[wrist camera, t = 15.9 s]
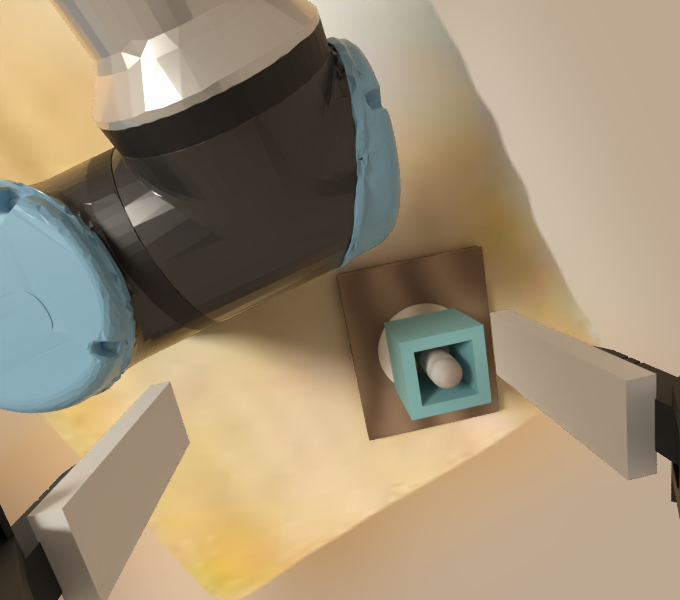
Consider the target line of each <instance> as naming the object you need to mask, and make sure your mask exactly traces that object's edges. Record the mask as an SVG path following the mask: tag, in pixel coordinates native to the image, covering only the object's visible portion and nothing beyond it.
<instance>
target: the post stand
mask: <svg viewBox="0 0 680 600" xmlns="http://www.w3.org/2000/svg"><path fill="white" fill-rule="evenodd" d="M337 280H338V285H339V290H340V295H341V300H342V305H343V311H344V316H345V321H346V326H347V331H348V336H349V341H350V346H351V351H352V356H353V361H354V366H355V371H356V376H357V381H358V386H359V392H360V397H361V402H362V407H363V412H364V417H365V422H366V427H367V432H368V436H369V439H370V440H375V439H379V438H383V437H388V436H392V435H397V434H401V433H405V432H410V431H414V430H419V429H423V428H428V427H432V426H436V425H441V424H445V423H450V422H454V421H458V420H463V419H467V418H472V417H476V416H480V415H485V414H489V413H494V412H498V411H499V403H498V394H497V384H496V375H495V366H494V356H493V347H492V338H491V328H490V319H489V310H488V300H487V291H486V282H485V272H484V263H483V254H482V247H479V246H473V247H468V248H464V249H459V250H454V251H449V252H444V253H439V254H434V255H430V256H425V257H420V258H415V259H410V260H405V261H400V262H396V263H391V264H386V265H381V266H376V267H371V268H366V269H361V270H357V271H352V272H347V273H342V274H337ZM450 308H455V309H457V310H459V311H460V312H462V313H464V314H465V315H467V316H469V317H471V318H472V319H474V320H476V321H477V322H479V323H481V324H482V325H483V328H484V337H485V346H486V355H487V364H488V373H489V382H490V391H491V400H492V403H487V404H483V405H478V406H474V407H470V408H465V409H461V410H456V411H452V412H447V413H443V414H439V415H434V416H430V417H425V418H421V419H416V420H411V418H410V416H409V414H408V412H407V410H406V408H405V406H404V404H403V403H402V401H401V399H400V397H399V395H398V393H397V391H396V389H395V385H394V379H393V374H392V368H391V362H390V356H389V351H388V345H387V339H386V333H385V328H384V322H389V321H394V320H398V319H403V318H408V317H413V316H417V315H422V314H427V313H431V312H436V311H441V310H446V309H450ZM414 357H415V364H416V370H417V374H419V373H423V372H426V373H427V375H428V376H429V377H430V378H431V380H432V381H433V382H434V383H435V384H436V385H437V386H439V387H441V388H445V389H449V388H453V387H455V386H456V385H458V384H459V382H460V381H461V379H462V368H461V366H460V364H459V363H458V362H457V361H456V360H455V359H454V358H453V357H452V356H451V355H450V354H449V347H448V345H446V346H441V347H436V348H432V349H427V350H422V351H418V352H414Z"/></svg>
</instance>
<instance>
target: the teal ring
mask: <svg viewBox="0 0 680 600" xmlns="http://www.w3.org/2000/svg"><path fill="white" fill-rule="evenodd" d="M384 328H385V333H386V339H387V345H388V351H389V356H390V362H391V368H392V374H393V379H394V385H395V389H396V391H397V393H398V395H399V397H400V399H401V401H402V403H403V404H404V406H405V408H406V410H407V412H408V414H409V416H410V418H411V420H416V419H421V418H425V417H430V416H434V415H439V414H443V413H447V412H452V411H456V410H461V409H465V408H470V407H474V406H478V405H483V404H487V403H492V400H491V391H490V382H489V373H488V364H487V355H486V346H485V337H484V328H483V325H482V324H481V323H479V322H477V321H476V320H474V319H472V318H471V317H469V316H467V315H465V314H464V313H462V312H460V311H459V310H457V309H455V308H450V309H446V310H441V311H436V312H431V313H427V314H422V315H417V316H413V317H408V318H403V319H398V320H394V321H389V322H384ZM446 345H448V347H449V354H450V355H451V356H452V357H453V358H454V359H455V360H456V361H457V362H458V363H459V364H460V366H461V368H462V379H461V381H460V382H459V384H458V385H456V386H455V387H453V388H449V389H445V388H441V387H439V386H437V385H436V384H435V383H434V382H433V381H432V380H431V378H430V377H429V376H428V375H427V373H426V372H423V373H419V374H417V370H416V364H415V357H414V352H418V351H422V350H427V349H432V348H436V347H441V346H446Z"/></svg>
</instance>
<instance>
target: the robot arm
mask: <svg viewBox="0 0 680 600" xmlns="http://www.w3.org/2000/svg"><path fill="white" fill-rule="evenodd" d="M50 2H51V3H52V4H53V6H54V7H55V9H56V10H57V11H58V13H59V14H60V16H61V17H62V18H63V20H64V21H65V23H66V24H67V25H68V27H69V28H70V30H71V31H72V32H73V34H74V35H75V36H76V38H77V39H78V41H79V42H80V43H81V45H82V46H83V48H84V49H85V50H86V52H87V53H88V55H89V56H90V57H91V59H92V62H93V66H94V71H95V87H94V103H93V119H94V120H95V122H96V123H97V125H98V127H99V128H100V129H101V130H102V132H103V133H104V134H105V135H106V137H107V138H108V139H109V140H110V142H111V143H112V144H113V145H114V148H112V149H110V150H108V151H106V152H104V153H102V154H100V155H98V156H96V157H93V158H91V159H89V160H87V161H85V162H83V163H81V164H79V165H77V166H75V167H73V168H71V169H68V170H66V171H64V172H62V173H60V174H58V175H56V176H54V177H52V178H50V179H48V180H45V181H43V182H40V183H37V184H33V185H29V186H27V185H25V184H22V183H17V182H13V181H8V180H0V409H4V410H7V411H13V412H21V413H43V412H52V411H57V410H62V409H65V408H68V407H71V406H74V405H77V404H79V403H81V402H83V401H85V400H86V399H88V398H90V397H92V396H94V395H97V394H100V393H102V392H104V391H106V390H107V389H109V388H110V387H111V386H112V385H113V384H114V382H116V381H118V380H119V379H120V378H121V374H123V373H124V372H125V371H126V370H127V369H128V368H130V367H131V366H133V365H135V364H136V363H138V362H140V361H142V360H143V359H145V358H147V357H149V356H151V355H153V354H155V353H157V352H159V351H161V350H163V349H165V348H167V347H169V346H171V345H174V344H176V343H178V342H180V341H182V340H184V339H186V338H188V337H190V336H192V335H194V334H196V333H198V332H200V331H202V330H204V329H206V328H208V327H210V326H212V325H214V324H216V323H219V322H221V321H225V320H227V319H229V318H231V317H233V316H236V315H238V314H240V313H242V312H244V311H246V310H248V309H250V308H252V307H255V306H257V305H259V304H261V303H263V302H265V301H267V300H269V299H271V298H274V297H276V296H278V295H280V294H282V293H284V292H286V291H288V290H290V289H293V288H295V287H297V286H299V285H301V284H303V283H305V282H307V281H309V280H312V279H314V278H316V277H318V276H320V275H322V274H324V273H326V272H328V271H331V270H338V269H340V268H343V266H344V265H347V264H348V263H349V261H350V260H351V259H353V258H354V257H356V256H358V255H360V254H362V253H364V252H366V251H367V250H369V249H371V248H373V247H375V246H377V245H379V244H380V243H381V242H382V241H383V240H384V239H385V238H386V237H387V236H388V235H389V233H390V232H391V231H392V229H393V227H394V225H395V223H396V220H397V216H398V212H399V206H400V192H401V189H400V170H399V161H398V154H397V148H396V142H395V137H394V132H393V128H392V124H391V120H390V116H389V114H388V111H387V110H386V109H384V108H383V107H382V105H381V97H380V86H379V84H378V82H377V79H376V77H375V74H374V72H373V70H372V68H371V66H370V64H369V62H368V60H367V59H366V57H365V55H364V54H363V53H362V51H361V50H360V49H359V48H358V47H357V46H356V45H355V44H353V43H351V42H350V41H348V40H346V39H337V38H334V37H330V38H328V39H326V36H325V33H324V29H323V26H322V23H321V19H320V16H319V13H318V10H317V7H316V6H315V5H314V4H312V3H310V2H309V1H307V0H50ZM490 317H491V326H492V336H493V345H494V354H495V364H496V373H497V375H498V376H499V377H501V378H502V379H503V380H504V381H505V382H507V383H508V384H509V385H510V386H512V387H513V388H514V389H515V390H517V391H518V392H519V393H520V394H522V395H523V396H524V397H525V398H527V399H528V400H529V401H530V402H532V403H533V404H534V405H535V406H536V407H538V408H539V409H540V410H541V411H543V412H544V413H545V414H546V415H548V416H549V417H550V418H551V419H553V420H554V421H555V422H556V423H558V424H559V425H560V426H561V427H562V428H564V429H565V430H566V431H567V432H569V433H570V434H571V435H572V436H574V437H575V438H576V439H578V440H579V441H580V442H581V443H582V444H584V445H585V446H586V447H587V448H589V449H590V450H591V451H592V452H593V453H595V454H596V455H597V456H598V457H600V458H601V459H602V460H604V461H605V462H606V463H607V464H608V465H610V466H611V467H612V468H613V469H615V470H616V471H617V472H618V473H620V474H621V475H622V476H623V477H625V478H626V479H627V480H632V479H636V478H640V477H644V476H648V475H652V474H656V473H657V452H658V453H660V454H661V455H663V456H664V457H666V458H667V459H669V460H670V461H672V475H671V477H672V478H671V479H672V480H671V482H672V483H671V501H673V502H677V507H678V512H679V517H680V376H679V377H676V376H673V375H671V374H669V373H666V372H664V371H661V370H659V369H657V368H654V367H652V366H650V365H647V364H645V363H640V361H638V360H635V359H633V358H628V356H626V355H623V354H621V353H619V352H616V351H614V350H610V349H605V348H601V347H596V346H591V345H589V344H587V343H585V342H582V341H580V340H578V339H575V338H573V337H571V336H569V335H566V334H564V333H562V332H559V331H557V330H555V329H552V328H550V327H548V326H546V325H543V324H541V323H539V322H536V321H534V320H532V319H530V318H527V317H525V316H523V315H520V314H518V313H516V312H514V311H511V310H509V309H506V310H501V311H497V312H492V313H490ZM189 443H190V442H189V439H188V436H187V433H186V430H185V427H184V423H183V420H182V417H181V414H180V411H179V408H178V405H177V402H176V398H175V395H174V392H173V389H172V386H171V383H170V382H166V383H162V384H157V385H152V386H150V387H149V388H148V389H147V390H146V391H145V392H144V393H143V394H142V395H141V397H140V398H139V399H138V400H137V401H136V402H135V403H134V404H133V405H132V406H131V407H130V408H129V409H128V410H127V411H126V412H125V413H124V414H123V416H122V417H121V418H120V419H119V420H118V421H117V422H116V423H115V424H114V425H113V426H112V427H111V428H110V429H109V430H108V431H107V432H106V433H105V435H104V436H103V437H102V438H101V439H100V440H99V441H98V442H97V443H96V444H95V445H94V446H93V447H92V448H91V449H90V450H89V451H88V452H87V454H86V455H85V456H84V457H83V458H82V459H81V460H80V461H79V462H78V463H77V464H75V465H74V466H73V467H71V468H70V469H69V470H67V471H66V472H64V473H63V474H62V475H61V476H60V477H59V478H58V479H57V480H56V481H55V482H54V483H53V484H52V485H51V486H50V487H49V490H46V491H45V492H44V493H43V494H42V495H41V496H40V497H39V500H38V501H36V502H35V503H34V504H33V505H32V506H31V507H30V508H29V509H28V510H27V511H26V512H25V513H24V514H23V515H22V516H21V517H20V518H19V519H18V520H17V521H16V522H15V523H14V524H13V525H12V526H11V527H10V525H9V522H8V520H7V519H6V516H5V514H4V512H3V509H2V507H1V505H0V600H58V599H59V597H60V596H61V594H62V596H63V598H64V600H107V598H108V596H109V595H110V592H111V591H112V589H113V587H114V585H115V583H116V581H117V579H118V577H119V576H120V574H121V572H122V570H123V568H124V566H125V564H126V562H127V560H128V559H129V557H130V555H131V553H132V551H133V549H134V547H135V545H136V543H137V541H138V539H139V538H140V536H141V534H142V532H143V530H144V528H145V526H146V524H147V523H148V521H149V519H150V517H151V515H152V513H153V511H154V509H155V507H156V506H157V504H158V502H159V500H160V498H161V496H162V494H163V492H164V490H165V488H166V487H167V485H168V483H169V481H170V479H171V477H172V475H173V473H174V471H175V470H176V468H177V466H178V464H179V462H180V460H181V458H182V456H183V454H184V453H185V451H186V449H187V447H188V445H189Z"/></svg>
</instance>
